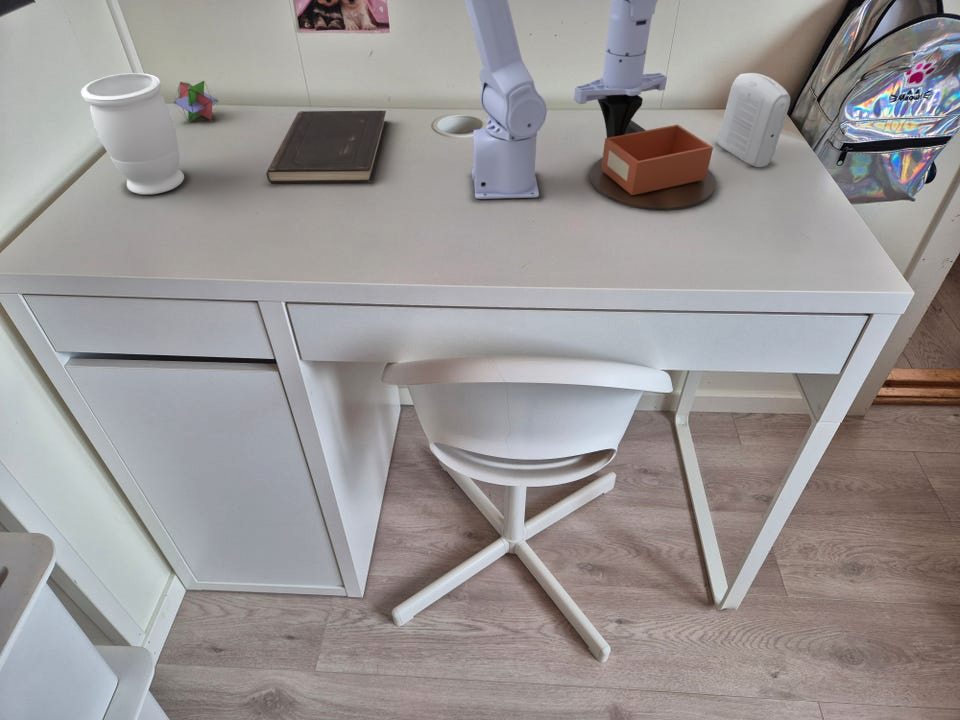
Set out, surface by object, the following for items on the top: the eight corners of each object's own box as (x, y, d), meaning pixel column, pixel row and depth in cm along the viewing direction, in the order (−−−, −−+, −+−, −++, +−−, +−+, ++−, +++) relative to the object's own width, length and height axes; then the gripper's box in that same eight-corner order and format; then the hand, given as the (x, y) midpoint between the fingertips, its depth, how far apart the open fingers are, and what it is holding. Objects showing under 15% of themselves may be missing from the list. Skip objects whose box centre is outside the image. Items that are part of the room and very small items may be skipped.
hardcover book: (387, 123, 118) (385, 110, 117) (371, 183, 101) (369, 169, 100) (298, 123, 118) (296, 111, 117) (268, 183, 101) (265, 170, 100)
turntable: (601, 212, 94) (601, 208, 94) (581, 154, 108) (581, 150, 108) (732, 209, 94) (733, 205, 94) (695, 151, 108) (696, 148, 108)
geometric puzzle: (233, 104, 120) (202, 64, 117) (208, 118, 115) (175, 77, 112) (214, 123, 124) (184, 85, 121) (190, 137, 120) (157, 98, 117)
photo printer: (775, 165, 105) (800, 86, 96) (753, 170, 103) (777, 90, 95) (733, 140, 112) (753, 64, 103) (712, 144, 110) (731, 68, 102)
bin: (631, 195, 96) (636, 163, 92) (586, 158, 105) (590, 127, 101) (705, 179, 99) (713, 147, 96) (656, 144, 108) (662, 114, 105)
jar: (204, 182, 102) (173, 83, 92) (140, 206, 96) (99, 104, 86) (170, 161, 107) (137, 66, 97) (108, 183, 102) (67, 85, 92)
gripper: (595, 65, 88) (585, 160, 98) (685, 51, 92) (667, 143, 102) (570, 50, 93) (563, 141, 102) (657, 37, 97) (642, 126, 106)
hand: (613, 141), depth 102 cm, fingers closed
